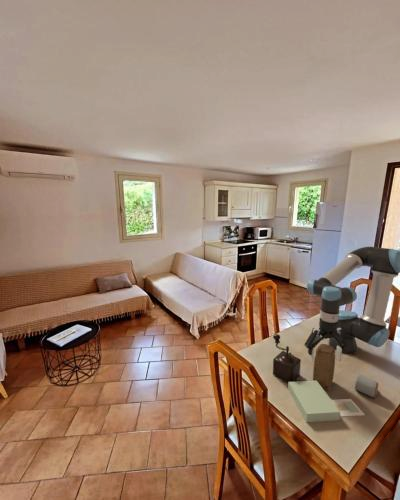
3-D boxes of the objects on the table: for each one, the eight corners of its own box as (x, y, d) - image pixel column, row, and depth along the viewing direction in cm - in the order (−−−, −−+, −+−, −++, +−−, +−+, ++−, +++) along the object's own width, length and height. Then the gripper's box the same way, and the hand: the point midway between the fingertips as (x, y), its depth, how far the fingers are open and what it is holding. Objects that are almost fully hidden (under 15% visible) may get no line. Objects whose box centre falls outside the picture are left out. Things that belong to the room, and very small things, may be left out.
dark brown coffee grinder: (301, 374, 116) (303, 343, 113) (291, 385, 109) (293, 353, 105) (274, 360, 127) (275, 331, 124) (263, 369, 120) (264, 339, 117)
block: (327, 393, 104) (330, 355, 100) (310, 384, 109) (313, 348, 106) (334, 381, 111) (338, 345, 107) (319, 373, 116) (322, 339, 113)
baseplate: (315, 387, 107) (316, 380, 106) (339, 420, 90) (340, 411, 90) (287, 389, 107) (288, 381, 106) (306, 422, 90) (306, 414, 89)
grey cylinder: (375, 402, 99) (378, 387, 97) (353, 392, 104) (355, 377, 103) (378, 388, 106) (380, 374, 105) (357, 380, 112) (359, 366, 111)
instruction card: (350, 399, 100) (350, 398, 100) (364, 415, 92) (364, 414, 92) (329, 400, 100) (329, 399, 100) (341, 416, 92) (341, 416, 92)
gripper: (307, 324, 100) (303, 366, 103) (360, 322, 101) (354, 364, 104) (299, 316, 107) (296, 355, 111) (348, 315, 108) (343, 354, 112)
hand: (324, 359), depth 107 cm, fingers open, 13 cm apart
